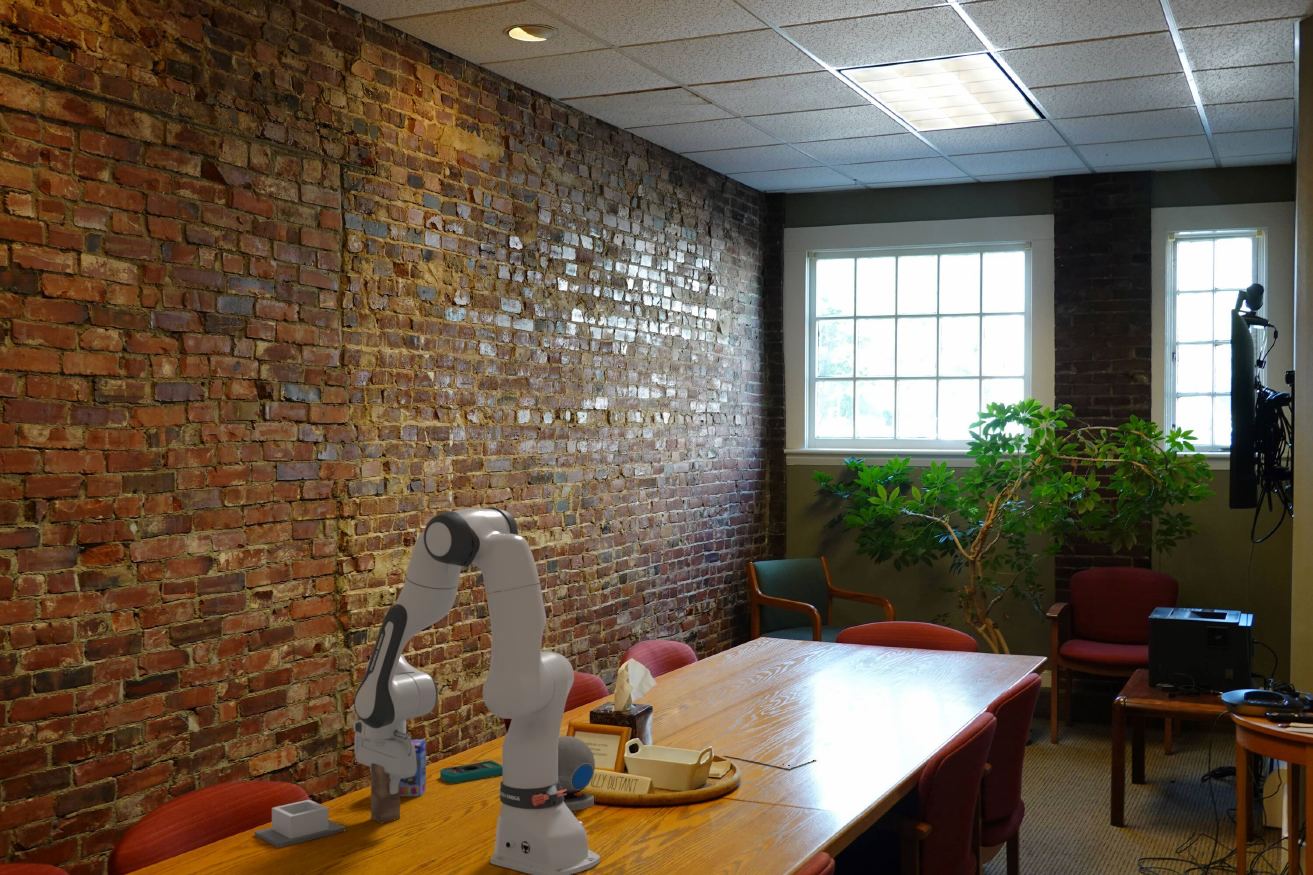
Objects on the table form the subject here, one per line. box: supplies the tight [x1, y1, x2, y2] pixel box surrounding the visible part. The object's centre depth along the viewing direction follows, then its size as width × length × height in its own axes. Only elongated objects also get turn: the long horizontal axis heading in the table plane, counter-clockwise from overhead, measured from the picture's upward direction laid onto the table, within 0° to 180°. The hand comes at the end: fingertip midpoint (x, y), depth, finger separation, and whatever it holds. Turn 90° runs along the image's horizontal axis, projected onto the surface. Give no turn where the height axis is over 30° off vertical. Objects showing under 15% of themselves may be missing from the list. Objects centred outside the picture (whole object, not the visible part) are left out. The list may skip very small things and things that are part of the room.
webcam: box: [558, 735, 596, 812], centre depth 263 cm, size 13×13×15 cm
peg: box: [370, 763, 401, 823], centre depth 252 cm, size 4×4×12 cm
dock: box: [253, 799, 347, 849], centre depth 242 cm, size 11×15×5 cm
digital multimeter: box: [439, 760, 503, 784], centre depth 286 cm, size 7×15×3 cm, turn 125°
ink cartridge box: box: [400, 733, 427, 798], centre depth 271 cm, size 10×6×14 cm, turn 88°
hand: (385, 790), depth 252 cm, fingers closed on peg, 4 cm apart
